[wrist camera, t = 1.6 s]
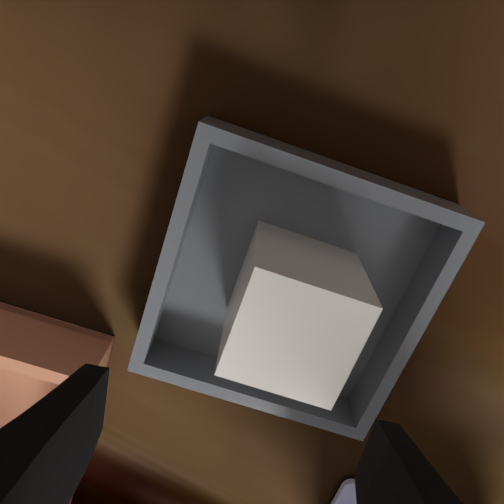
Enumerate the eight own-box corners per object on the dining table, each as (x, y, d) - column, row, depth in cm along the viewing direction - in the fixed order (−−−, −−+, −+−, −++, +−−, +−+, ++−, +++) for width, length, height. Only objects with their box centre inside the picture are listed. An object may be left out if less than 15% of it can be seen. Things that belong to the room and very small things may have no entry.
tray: (459, 204, 19) (485, 222, 17) (353, 404, 23) (362, 441, 21) (207, 115, 18) (198, 121, 16) (141, 339, 22) (127, 370, 20)
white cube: (356, 253, 20) (383, 308, 15) (317, 337, 21) (330, 410, 17) (258, 220, 19) (254, 266, 15) (226, 308, 21) (214, 375, 16)
